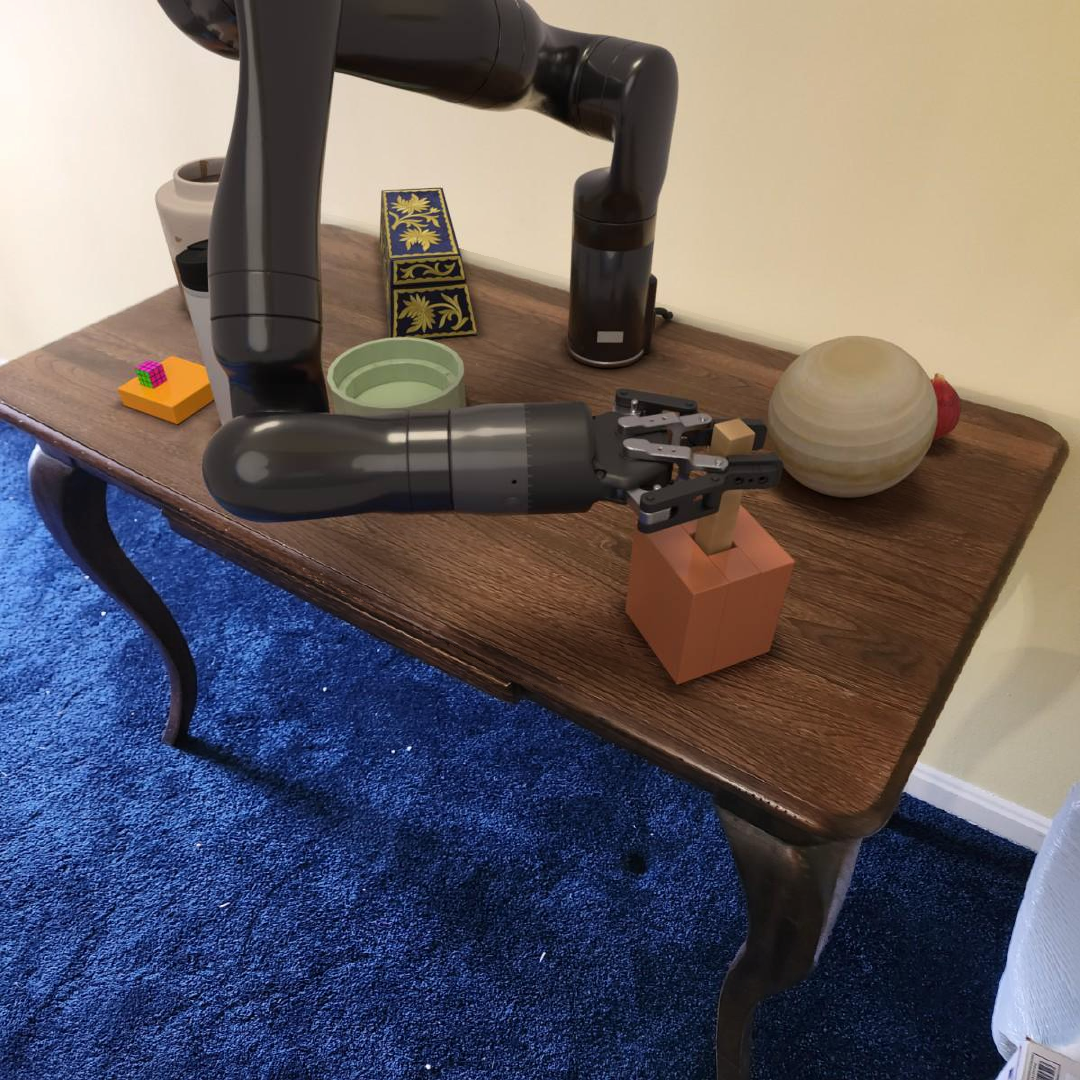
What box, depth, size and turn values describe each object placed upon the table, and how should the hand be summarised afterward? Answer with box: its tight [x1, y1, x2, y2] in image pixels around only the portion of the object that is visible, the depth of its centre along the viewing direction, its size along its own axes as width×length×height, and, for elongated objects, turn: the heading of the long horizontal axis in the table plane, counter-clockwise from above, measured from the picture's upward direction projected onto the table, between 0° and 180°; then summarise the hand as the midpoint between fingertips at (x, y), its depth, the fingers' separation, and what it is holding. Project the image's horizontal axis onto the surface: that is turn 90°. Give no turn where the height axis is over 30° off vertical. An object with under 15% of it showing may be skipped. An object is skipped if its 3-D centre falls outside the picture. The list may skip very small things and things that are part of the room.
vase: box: [154, 155, 226, 315], centre depth 108 cm, size 15×15×17 cm
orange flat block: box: [117, 355, 215, 425], centre depth 94 cm, size 8×8×4 cm
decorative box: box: [379, 187, 478, 340], centre depth 114 cm, size 11×30×9 cm, turn 10°
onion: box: [930, 372, 962, 441], centre depth 88 cm, size 6×6×8 cm
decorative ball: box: [766, 335, 937, 499], centre depth 81 cm, size 15×15×15 cm
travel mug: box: [175, 239, 232, 426], centre depth 85 cm, size 6×7×20 cm
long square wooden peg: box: [694, 417, 755, 557], centre depth 64 cm, size 2×2×20 cm
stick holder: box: [624, 503, 796, 686], centre depth 67 cm, size 9×9×10 cm
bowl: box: [326, 337, 467, 415], centre depth 92 cm, size 14×14×6 cm
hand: (770, 451), depth 59 cm, fingers open, 3 cm apart
